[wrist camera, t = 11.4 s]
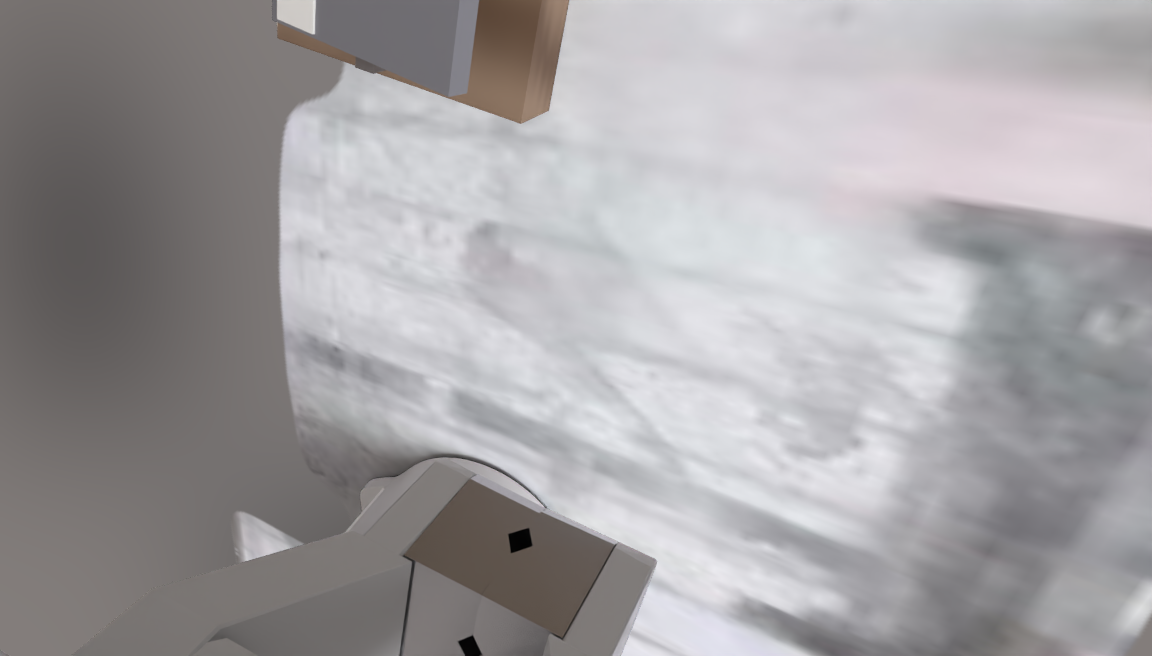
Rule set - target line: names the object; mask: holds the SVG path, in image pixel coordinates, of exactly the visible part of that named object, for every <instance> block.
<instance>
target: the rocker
mask: <svg viewBox="0 0 1152 656" xmlns="http://www.w3.org/2000/svg"><path fill="white" fill-rule="evenodd" d="M478 5H479V0H272V20H273V21H275V22H278V23H280V24H282V25H285V26H287V27H289V28H292V29H294V30H296V31H298V32H301V33H303V34H305V35H308V36H310V37H312V38H314V39H317V40H319V41H321V42H324V43H326V44H328V45H330V46H333V47H335V48H337V49H340V50H342V51H344V52H346V53H349V54H351V55H353V56H356V57H358V58H360V59H362V60H365V61H367V62H369V63H372V64H374V65H376V66H379V67H381V68H383V69H385V70H388V71H390V72H392V73H395V74H397V75H399V76H401V77H404V78H406V79H408V80H411V81H413V82H415V83H417V84H420V85H422V86H424V87H427V88H429V89H431V90H433V91H436V92H438V93H440V94H443V95H445V96H447V97H451V96H456V95H461V94H466V93H467V90H468V82H469V75H470V67H471V59H472V51H473V44H474V36H475V28H476V20H477V13H478Z"/></svg>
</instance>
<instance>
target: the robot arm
mask: <svg viewBox="0 0 1152 656" xmlns="http://www.w3.org/2000/svg"><path fill="white" fill-rule="evenodd" d="M360 501H361V508H362V513H361V514H360V515H359V516H358V517H357V518H356V520H355V521H354V522H353V523H352V524H351V525H350V527H349V528H348V529H347V530H346V531H345V532H344V533H342V534H339V535H335V536H332V537H328V538H325V539H321V540H318V541H314V542H311V543H307V544H304V545H301V546H297V547H294V548H290V549H287V550H283V551H280V552H276V553H273V554H270V555H266V556H263V557H259V558H256V559H252V560H249V561H245V562H242V563H239V564H235V565H232V566H228V567H225V568H221V569H218V570H215V571H211V572H208V573H204V574H201V575H197V576H194V577H190V578H187V579H184V580H180V581H177V582H174V583H170V584H167V585H163V586H159V587H156V588H153V589H151V590H150V591H149V592H148V593H146V594H145V595H144V596H143V597H141V598H140V599H139V600H138V601H137V602H135V603H134V604H133V605H132V606H131V607H129V608H128V609H127V610H126V611H124V612H123V613H122V614H121V615H119V616H118V617H117V618H116V619H115V620H113V621H112V622H111V623H110V624H109V625H107V626H106V627H105V628H104V629H103V630H101V631H100V632H99V633H98V634H96V635H95V636H94V637H93V638H92V639H90V640H89V641H88V642H87V643H86V644H84V645H83V646H82V647H81V648H80V649H78V650H77V651H76V652H75V653H74V654H72V655H71V656H621V654H622V652H623V650H624V647H625V645H626V642H627V640H628V637H629V635H630V632H631V630H632V627H633V625H634V622H635V620H636V617H637V614H638V612H639V609H640V607H641V604H642V601H643V599H644V596H645V594H646V591H647V588H648V586H649V583H650V581H651V578H652V575H653V573H654V570H655V567H656V564H657V561H656V559H654V558H652V557H650V556H648V555H645V554H643V553H641V552H639V551H637V550H635V549H633V548H631V547H628V546H626V545H624V544H622V543H620V542H618V541H616V540H614V539H612V538H609V537H607V536H605V535H603V534H601V533H599V532H597V531H595V530H592V529H590V528H588V527H586V526H584V525H582V524H580V523H577V522H575V521H573V520H571V519H569V518H567V517H565V516H563V515H560V514H558V513H556V512H554V511H552V510H550V509H548V508H547V509H546V508H545V507H544V506H543V505H542V504H541V503H540V502H539V501H538V500H537V499H536V498H535V497H534V496H533V495H532V494H531V493H529V492H528V491H527V490H526V489H525V488H523V487H522V486H521V485H519V484H518V483H517V482H515V481H514V480H512V479H510V478H509V477H507V476H506V475H504V474H502V473H500V472H498V471H496V470H494V469H492V468H490V467H487V466H485V465H482V464H479V463H476V462H473V461H469V460H465V459H459V458H445V457H444V458H434V459H429V460H425V461H422V462H420V463H418V464H416V465H414V466H412V467H411V468H410V469H408V470H407V471H405V472H404V473H402V474H401V475H399V476H396V477H384V478H376V479H372V480H370V481H369V482H368V483H367V484H366V485H365V487H364V488H363V489H362V490H361V492H360ZM0 656H9V655H8V654H6V653H4V652H3V651H1V650H0Z"/></svg>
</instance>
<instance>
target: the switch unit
mask: <svg viewBox="0 0 1152 656" xmlns="http://www.w3.org/2000/svg"><path fill="white" fill-rule="evenodd" d="M568 4H569V0H479V5H478V13H477V20H476V28H475V36H474V44H473V51H472V59H471V67H470V75H469V82H468V90H467V93H466V94H461V95H456V96H451V97H447V96H445V95H443V94H440V93H438V92H436V91H433V90H431V89H429V88H427V87H424V86H422V85H420V84H417V83H415V82H413V81H411V80H408V79H406V78H404V77H401V76H399V75H397V74H395V73H392V72H390V71H388V70H385V69H383V68H381V67H379V66H376V65H374V64H372V63H369V62H367V61H365V60H362V59H360V58H358V57H356V56H353V55H351V54H349V53H346V52H344V51H342V50H340V49H337V48H335V47H333V46H330V45H328V44H326V43H324V42H321V41H319V40H317V39H314V38H312V37H310V36H308V35H305V34H303V33H301V32H298V31H296V30H294V29H292V28H289V27H287V26H285V25H282V24H280V23H278V22H277V26H278V38H279V39H282V40H284V41H287V42H290V43H293V44H296V45H298V46H301V47H304V48H307V49H310V50H313V51H316V52H319V53H321V54H324V55H327V56H330V57H333V58H336V59H338V60H341V61H344V62H347V63H350V64H352V65H355V67H356V68H359V69H361V70H364V71H367V72H370V73H373V74H374V73H378V74H381V75H384V76H387V77H389V78H392V79H395V80H398V81H401V82H404V83H407V84H409V85H412V86H415V87H418V88H421V89H424V90H426V91H429V92H432V93H435V94H438V95H441V96H443V97H446V98H449V99H452V100H455V101H458V102H461V103H463V104H466V105H469V106H472V107H475V108H478V109H480V110H483V111H486V112H489V113H492V114H495V115H498V116H500V117H503V118H506V119H509V120H512V121H515V122H517V123H520V124H521V123H524V122H526V121H528V120H530V119H532V118H534V117H536V116H538V115H540V114H543V113H545V112H547V111H549V106H550V100H551V95H552V90H553V84H554V79H555V74H556V68H557V63H558V57H559V52H560V47H561V41H562V36H563V31H564V25H565V20H566V15H567V9H568Z"/></svg>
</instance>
